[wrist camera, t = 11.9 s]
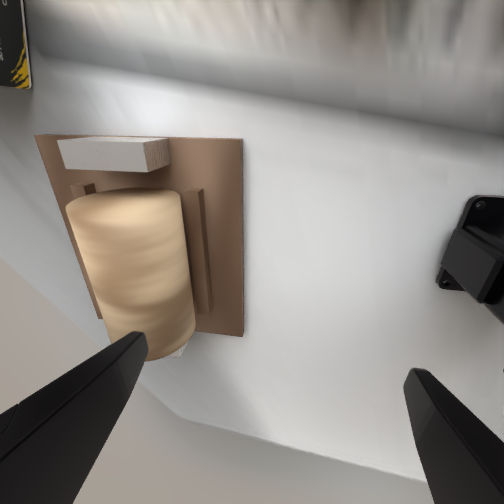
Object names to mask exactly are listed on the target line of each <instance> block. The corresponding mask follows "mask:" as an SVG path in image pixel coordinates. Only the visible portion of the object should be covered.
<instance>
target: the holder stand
mask: <svg viewBox="0 0 504 504" xmlns="http://www.w3.org/2000/svg"><path fill="white" fill-rule="evenodd" d="M34 137H35V140H36V142H37V145H38V148H39V151H40V154H41V157H42V160H43V162H44V165H45V168H46V171H47V174H48V177H49V179H50V182H51V185H52V188H53V191H54V194H55V197H56V199H57V202H58V205H59V208H60V211H61V214H62V216H63V219H64V222H65V225H66V228H67V231H68V234H69V236H70V239H71V242H72V245H73V248H74V251H75V253H76V256H77V259H78V262H79V265H80V268H81V270H82V273H83V276H84V279H85V282H86V285H87V288H88V290H89V293H90V296H91V299H92V302H93V305H94V307H95V310H96V313H97V316H98V319H103V317H102V314H101V312H100V309H99V306H98V303H97V300H96V297H95V294H94V291H93V288H92V285H91V282H90V279H89V277H88V274H87V271H86V268H85V265H84V262H83V259H82V256H81V253H80V250H79V247H78V244H77V242H76V239H75V236H74V233H73V230H72V227H71V224H70V221H69V218H68V215H67V212H66V209H65V208H66V206H67V205H68V204H69V203H70V202H71V201H73V200H75V199H78V198H80V197H83V196H86V195H89V194H93V193H97V192H102V191H107V190H114V189H122V188H136V187H151V188H163V189H168V190H172V191H175V192H177V193H178V194H179V195H180V201H181V209H182V217H183V225H184V233H185V241H186V249H187V257H188V265H189V273H190V281H191V289H192V297H193V305H194V313H195V321H196V326H195V330H194V331H199V332H207V333H215V334H223V335H231V336H239V337H242V336H243V332H244V269H243V152H242V139H233V138H186V137H139V136H92V135H45V134H44V135H34ZM188 341H189V340H188ZM187 343H188V342H187ZM187 343H186V344H185V345H184V346H182V347H181V348H180V349H178V350H177V351H175V352H174V353H172V354H170V355H168V356H171V357H178V358H180V357H181V355H182V353H183V351H184V349H185V347H186V345H187Z"/></svg>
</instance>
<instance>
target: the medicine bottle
mask: <svg viewBox="0 0 504 504" xmlns="http://www.w3.org/2000/svg"><path fill="white" fill-rule="evenodd" d="M0 87H10V88H20V89H29V88H31V75H30V66H29V56H28V47H27V37H26V27H25V18H24V8H23V0H0Z"/></svg>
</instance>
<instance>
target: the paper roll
mask: <svg viewBox="0 0 504 504" xmlns="http://www.w3.org/2000/svg"><path fill="white" fill-rule="evenodd" d="M65 209H66V212H67V215H68V218H69V221H70V224H71V227H72V230H73V233H74V236H75V239H76V242H77V244H78V247H79V250H80V253H81V256H82V259H83V262H84V265H85V268H86V271H87V274H88V277H89V279H90V282H91V285H92V288H93V291H94V294H95V297H96V300H97V303H98V306H99V309H100V312H101V314H102V317H103V320H104V323H105V326H106V329H107V332H108V335H109V338H110V341H111V344H113V343H114V342H116V341H117V340H119V339H120V338H122V337H124V336H125V335H127V334H128V333H130V332H132V331H139V332H144V333H145V335H146V339H147V343H148V347H149V351H148V355H147V358H146V360H145V361H152V360H156V359H160V358H163V357H166V356H168V355H170V354H172V353H174V352H175V351H177V350H178V349H180V348H181V347H182V346H184V345H185V344H186V343H187V342H188V340H189V339H190V338H191V336H192V335H193V333H194V330H195V326H196V321H195V313H194V305H193V297H192V289H191V281H190V273H189V265H188V257H187V249H186V241H185V233H184V225H183V217H182V209H181V201H180V195H179V194H178V193H177V192H175V191H172V190H168V189H163V188H151V187H136V188H122V189H114V190H107V191H102V192H97V193H93V194H89V195H86V196H83V197H80V198H78V199H75V200H73V201H71V202H70V203H69V204H68V205H67V206H66V208H65Z"/></svg>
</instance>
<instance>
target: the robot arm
mask: <svg viewBox="0 0 504 504" xmlns="http://www.w3.org/2000/svg"><path fill="white" fill-rule="evenodd" d="M480 201H482V203H481V205H480V206H478V207H476V204H477V203H478V202H480ZM441 265H442V266H441V269H440V271H439V274H438V276H437V279H436V283H437V285H438V286H439V287H440V288H441V289H447V290H458V291H467V292H468V293H469V294H470V295H471V296H472V297H473V299H474V300H475V301H476V302H477V303H479V304H484V305H485V306H486V307H487V308H488V309H489V310H490V311H491V312H492V313H493V314H494V315H495V316H496V317H497V318H498V319H499V320H500V321H501V322H502V323H503V325H504V196H493V195H476V196H474V197H472V198H471V199H470V200H469V201H468V203H467V205H466V207H465V210H464V212H463V215H462V217H461V220H460V222H459V225H458V227H457V229H456V230H455V231H454V232H453V235H452V237H451V240H450V242H449V245H448V247H447V250H446V252H445V254H444V257H443V259H442V262H441ZM446 280H448V281H447V282H446V283H443V282H444V281H446ZM148 351H149V347H148V343H147V339H146V335H145V333H144V332H139V331H132V332H130V333H128V334H127V335H125V336H124V337H122V338H120V339H119V340H117V341H116V342H114V343H113V344H111V345H109V346H108V347H106V348H105V349H103V350H101V351H100V352H98V353H97V354H95V355H94V356H92V357H90V358H89V359H87V360H86V361H84V362H83V363H81V364H79V365H78V366H76V367H75V368H73V369H71V370H70V371H68V372H67V373H65V374H64V375H62V376H60V377H59V378H57V379H56V380H54V381H53V382H51V383H50V384H48V385H46V386H45V387H43V388H41V389H40V390H39V391H37V392H35V393H33V394H32V395H30V396H29V397H27V398H26V399H24V400H22V401H21V402H20V403H19V404H16V405H14V406H13V407H11V408H10V409H8V410H6V411H5V412H3V413H2V414H0V504H73V502H74V500H75V498H76V496H77V494H78V493H79V491H80V489H81V487H82V485H83V483H84V481H85V479H86V478H87V476H88V474H89V472H90V470H91V468H92V466H93V465H94V463H95V461H96V459H97V457H98V455H99V453H100V451H101V450H102V448H103V446H104V444H105V442H106V440H107V439H108V437H109V435H110V433H111V431H112V429H113V427H114V426H115V424H116V422H117V420H118V418H119V416H120V414H121V412H122V411H123V409H124V407H125V405H126V403H127V401H128V399H129V397H130V395H131V393H132V391H133V389H134V386H135V384H136V381H137V379H138V377H139V374H140V372H141V369H142V367H143V365H144V362H145V360H146V358H147V355H148ZM503 371H504V369H503ZM403 389H404V395H405V400H406V404H407V409H408V413H409V418H410V422H411V427H412V431H413V436H414V440H415V444H416V448H417V451H418V454H419V457H420V460H421V463H422V467H423V470H424V473H425V476H426V479H427V482H428V485H429V488H430V491H431V494H432V497H433V500H434V503H435V504H504V442H503V441H502V440H500V439H499V438H498V437H497V436H496V435H495V434H494V433H493V432H492V431H491V430H490V429H489V428H488V427H487V426H486V425H485V424H484V423H483V422H482V421H480V420H479V419H478V418H477V417H476V416H475V415H474V414H473V413H472V412H471V411H470V410H469V409H468V408H467V407H466V406H465V405H464V404H463V403H462V402H460V401H459V400H458V399H457V398H456V397H455V396H454V395H453V394H452V393H451V392H450V391H449V390H448V389H447V388H446V387H445V386H444V385H443V384H442V383H440V382H439V381H438V380H437V379H436V378H435V377H434V376H433V375H432V374H431V373H430V372H429V371H427V370H426V369H420V368H411V369H410V371H409V373H408V376H407V378H406V380H405V382H404V387H403Z"/></svg>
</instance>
